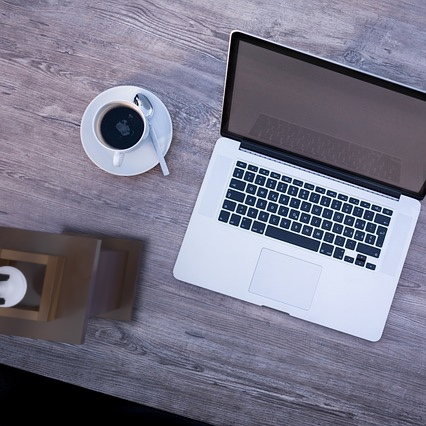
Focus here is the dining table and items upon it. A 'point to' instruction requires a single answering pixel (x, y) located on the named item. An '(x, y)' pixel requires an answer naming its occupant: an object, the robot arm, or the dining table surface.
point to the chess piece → (12, 286)
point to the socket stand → (49, 284)
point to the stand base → (115, 277)
